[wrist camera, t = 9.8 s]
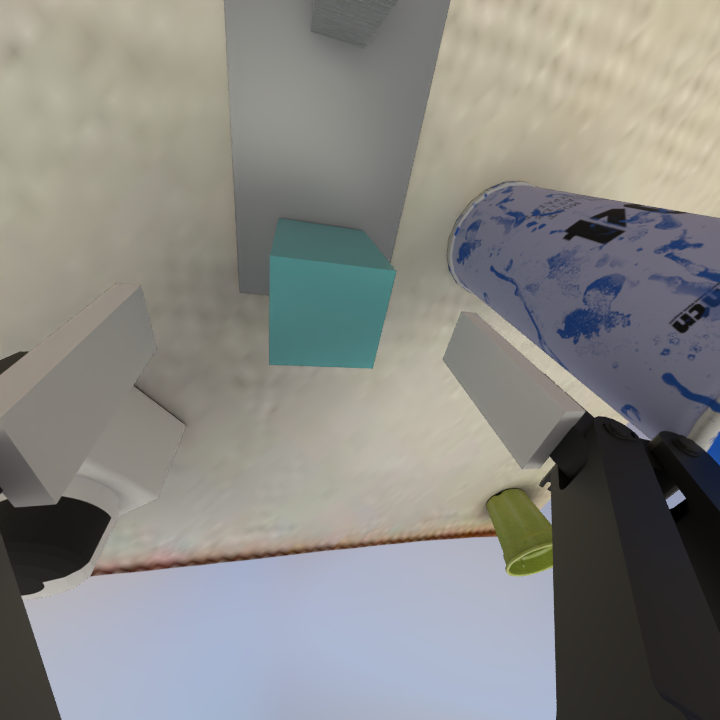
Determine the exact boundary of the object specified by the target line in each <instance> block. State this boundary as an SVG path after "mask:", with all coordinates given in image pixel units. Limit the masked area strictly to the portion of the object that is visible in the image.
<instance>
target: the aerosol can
mask: <svg viewBox="0 0 720 720" xmlns="http://www.w3.org/2000/svg"><path fill="white" fill-rule="evenodd" d="M447 259H448V265H449V271H450V273H451V274H452V276H453V278H454V280H455V281H456V283H457V284H459V285H460V286H461V287H463V288H464V289H465V290H467V291H468V292H470V293H474V294H475V295H476V296H477V297H479V298H480V299H481V300H482V301H483V302H485V303H486V304H487V305H488V306H489V307H491V308H492V309H493V310H494V311H496V312H497V313H498V314H499V315H500V316H502V317H503V318H504V319H505V320H506V321H508V322H509V323H510V324H511V325H512V326H514V327H515V328H516V329H517V330H519V331H520V332H521V333H522V334H523V335H525V336H526V337H527V338H528V339H529V340H531V341H532V342H533V343H534V344H536V345H537V346H538V347H539V348H540V349H542V350H543V351H544V352H545V353H546V354H548V355H549V356H550V357H551V358H552V359H554V360H555V361H556V362H557V363H559V364H560V365H561V366H562V367H563V368H565V369H566V370H567V371H568V372H569V373H571V374H572V375H573V376H574V377H576V378H577V379H578V380H579V381H580V382H582V383H583V384H584V385H585V386H586V387H588V388H589V389H590V390H591V391H592V392H594V393H595V394H596V395H597V396H599V397H600V398H601V399H602V400H603V401H605V402H606V403H607V404H608V405H609V406H611V407H612V408H613V409H614V410H616V411H617V412H618V413H619V414H620V415H622V416H623V417H624V418H625V419H626V420H628V421H629V422H630V423H631V424H632V425H634V426H635V427H636V428H638V429H639V430H640V431H641V432H642V433H643V434H645V435H646V436H647V437H648V438H650V439H651V440H652V439H653V438H654V437H655V436H656V435H657V434H658V433H659V432H661V431H669V432H674V433H676V434H679V435H683V436H685V437H687V439H688V438H689V439H691V440H693V441H694V442H695V443H696V444H697V445H699V446H700V447H702V448H703V449H704V450H705V451H706V452H707V453H708V454H709V455H710V456H711V457H712V458H713V459H714V460H715V461H716V462H717V463H718V464H719V465H720V218H716V217H710V216H704V215H698V214H692V213H686V212H680V211H674V210H668V209H662V208H656V207H650V206H644V205H639V204H633V203H627V202H621V201H615V200H609V199H603V198H597V197H591V196H585V195H579V194H573V193H567V192H561V191H555V190H549V189H543V188H539V187H536V186H534V185H532V184H529V183H527V182H522V181H518V182H503V183H501V184H498V185H496V186H494V187H491V188H489V189H486V190H485V191H484V192H483V193H481V194H480V195H479V196H478V197H476V198H475V199H474V200H473V201H471V202H470V203H469V205H468V206H467V207H466V209H465V210H464V211H463V213H462V214H461V215H460V216H459V218H458V219H457V221H456V224H455V226H454V228H453V231H452V233H451V235H450V238H449V245H448V251H447Z"/></svg>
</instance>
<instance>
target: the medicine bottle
mask: <svg viewBox="0 0 720 720" xmlns="http://www.w3.org/2000/svg"><path fill="white" fill-rule="evenodd" d="M184 430H185V425H184V424H183V423H182V422H180V421H179V420H178V419H177V418H175V417H174V416H173V415H171V414H170V413H169V412H167V411H166V410H165V409H163V408H162V407H161V406H159V405H158V404H157V403H155V402H154V401H153V400H151V399H150V398H149V397H147V396H146V395H145V394H143V393H142V392H141V391H139V390H138V389H137V388H135V387H134V386H133V387H132V388H131V390H130V391H129V393H128V395H127V396H126V398H125V399H124V401H123V402H122V404H121V405H120V407H119V408H118V410H117V411H116V413H115V415H114V416H113V418H112V419H111V421H110V422H109V424H108V425H107V427H106V428H105V430H104V432H103V433H102V435H101V436H100V438H99V439H98V441H97V442H96V444H95V445H94V447H93V448H92V450H91V452H90V453H89V455H88V456H87V458H86V459H85V461H84V462H83V464H82V465H81V467H80V469H79V470H78V472H77V473H76V475H75V476H74V478H73V479H72V481H71V482H70V484H69V485H68V487H67V489H66V490H65V492H64V493H63V495H62V496H61V498H60V499H59V501H58V502H57V504H54V505H40V506H27V507H14V506H13V505H12V504H11V502H10V501H9V500H8V499H7V498H6V496H5V495H4V494H3V493H1V494H0V532H1V535H2V538H3V542H4V545H5V548H6V551H7V554H8V557H9V560H10V563H11V566H12V569H13V572H14V575H15V578H16V582H17V585H18V588H19V591H20V594H21V597H22V600H30V599H38V598H43V597H47V596H51V595H55V594H58V593H61V592H64V591H67V590H70V589H72V588H74V587H76V586H78V585H79V584H80V583H82V582H83V581H85V580H86V579H87V578H88V577H89V576H90V575H91V573H92V571H93V569H94V567H95V565H96V563H97V561H98V559H99V557H100V555H101V553H102V550H103V548H104V546H105V544H106V542H107V540H108V538H109V536H110V534H111V532H112V530H113V528H114V525H115V523H116V521H117V519H118V517H119V516H121V515H123V514H125V513H127V512H130V511H132V510H134V509H136V508H138V507H140V506H143V505H145V504H147V503H149V502H151V501H154V500H156V499H157V498H158V496H159V494H160V491H161V489H162V486H163V484H164V481H165V479H166V476H167V474H168V471H169V468H170V466H171V463H172V461H173V458H174V456H175V453H176V451H177V448H178V445H179V443H180V440H181V438H182V435H183V433H184Z"/></svg>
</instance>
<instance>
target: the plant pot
mask: <svg viewBox="0 0 720 720" xmlns="http://www.w3.org/2000/svg"><path fill="white" fill-rule="evenodd" d="M487 510H488V512H489V515H490V518H491V520H492V523H493V525H494V528H495V531H496V533H497V536H498V539H499V541H500V544H501V547H502V549H503V553H504V555H503V556H504V560H505V563H506V568H505V569H506V572H507V573H508V575H511V576H526V575H531V574H535V573H538V572H541V571H544V570H547V569H549V568H552V567H553V547H552V525H551V524H550V522H548V520H547V519H546V518H545V516H544V515H543V514H542V513H541V512H540V511H539V509H538V508H537V507H536V506H535V505H534V503H533V502H532V501H531V500H530V498H529V497H528V496H527V495H526V494H525V493H524V492H523V491H522V490H520V489H508V490H505V491H503V492H502V494H500V495H498V496H493V497H492V498H491V499H490V500H489V501H488V503H487Z"/></svg>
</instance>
